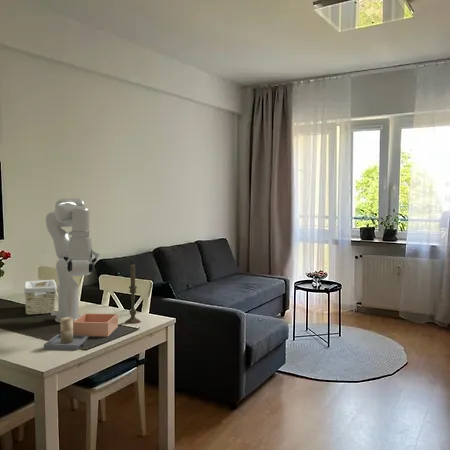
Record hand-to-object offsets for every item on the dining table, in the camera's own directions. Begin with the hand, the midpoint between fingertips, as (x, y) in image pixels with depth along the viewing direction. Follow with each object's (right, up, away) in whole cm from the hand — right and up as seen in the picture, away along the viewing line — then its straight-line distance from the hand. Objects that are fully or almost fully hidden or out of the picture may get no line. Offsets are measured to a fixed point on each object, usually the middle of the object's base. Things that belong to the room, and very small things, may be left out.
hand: (80, 271), depth 217 cm
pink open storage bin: (+7, -28, +1) cm, 29 cm away
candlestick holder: (+21, -28, +17) cm, 39 cm away
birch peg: (-1, -28, -16) cm, 32 cm away
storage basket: (-35, -26, +43) cm, 62 cm away
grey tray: (-1, -29, -16) cm, 33 cm away
